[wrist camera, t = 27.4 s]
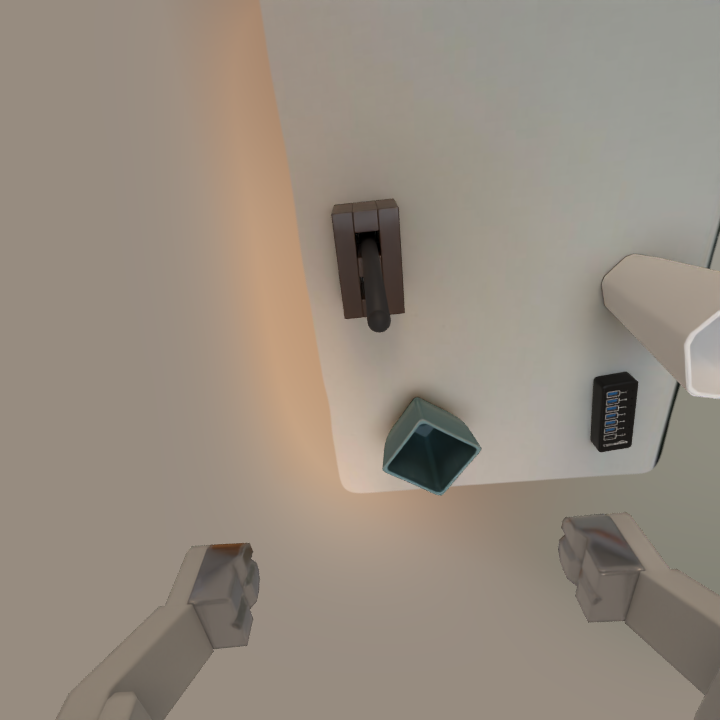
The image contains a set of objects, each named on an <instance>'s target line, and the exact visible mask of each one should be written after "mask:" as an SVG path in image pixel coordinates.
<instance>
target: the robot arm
mask: <svg viewBox="0 0 720 720" xmlns="http://www.w3.org/2000/svg"><path fill="white" fill-rule="evenodd" d="M561 528H562V530H563V532H564V534H565V535H564V536H563V537H562V538H561V539H560V540H559V548H558V550H559V557H560V562H561V565H562V568H563V571H564V573H565V575H566V577H567V579H569V580H570V581H571V582H572V583H573V584H575V585H576V586H577V590H576V595H575V596H576V598H577V600H578V602H579V604H580V606H581V609H582V611H583V613H584V615H585V617H586V619H587V621H588V622H610V621H625V624H626V625H628V626H629V627H630V628H631V629H632V630H633V631H634V632H635V633H636V634H638V635H639V636H640V637H641V638H642V639H643V640H644V641H645V642H646V643H648V644H649V645H650V646H651V647H652V648H653V649H654V650H655V651H656V652H657V653H659V654H660V655H661V656H662V657H663V658H664V659H665V660H666V661H667V662H669V663H670V664H671V665H672V666H673V667H674V668H675V669H676V670H677V671H679V672H680V673H681V674H682V675H683V676H684V677H685V678H686V679H688V680H689V681H690V682H691V683H692V684H693V685H694V686H695V687H696V688H697V689H698V690H700V691H701V692H702V693H703V694H704V695H705V696H704V699H703V700H702V702H701V704H700V706H699V708H698V710H697V712H696V714H695V717H694V720H720V596H719V595H718V594H716V593H714V592H713V591H711V590H710V589H708V588H707V587H705V586H703V585H702V584H700V583H699V582H697V581H695V580H694V579H692V578H691V577H689V576H687V575H686V574H684V573H683V572H681V571H679V570H678V569H670V568H669V567H668V565H667V564H666V562H665V561H664V560H663V558H662V557H661V556H660V555H659V553H658V552H657V550H656V549H655V547H654V546H653V545H652V544H651V542H650V541H649V540H648V538H647V537H646V535H645V534H644V532H643V531H642V530H641V528H640V527H639V526H638V524H637V523H636V522H635V520H634V519H633V518H632V516H631V515H630V514H628V513H627V512H623V513H612V514H594V515H584V516H573V517H565V518H564V520H563V521H562V527H561ZM252 553H253V551H252V548H251V545H250V543H237V544H218V545H204V546H203V545H202V546H192V547H191V548H190V549H189V550H188V552H187V553H186V556H185V558H184V561H183V563H182V565H181V568H180V570H179V573H178V575H177V577H176V580H175V582H174V585H173V587H172V590H171V592H170V595H169V597H168V599H167V602H166V605H165V606H160V607H158V608H157V609H156V610H155V611H154V612H153V613H152V614H151V615H150V616H149V617H148V618H147V619H146V620H145V621H144V622H143V623H142V624H141V625H139V627H137V628H136V629H135V630H134V631H133V632H132V633H131V634H130V635H129V636H128V637H127V638H126V639H125V640H124V641H123V642H122V643H121V644H120V645H119V646H118V647H117V648H116V649H115V650H113V651H112V652H111V653H110V654H109V655H108V656H107V657H106V658H105V659H104V660H103V661H102V662H101V663H100V664H99V665H98V666H97V667H96V668H95V669H94V670H93V671H92V672H91V673H90V674H88V675H87V676H86V677H85V678H84V679H83V680H82V681H81V682H80V683H79V684H78V685H77V686H76V687H75V688H74V689H73V690H72V691H71V692H70V693H69V694H68V696H67V698H66V700H65V702H64V704H63V706H62V708H61V710H60V712H59V714H58V716H57V717H56V719H55V720H164V719H165V717H166V716H167V715H168V713H169V712H170V711H171V709H172V708H173V707H174V705H175V704H176V702H177V701H178V700H179V698H180V697H181V695H182V694H183V693H184V691H185V690H186V689H187V687H188V686H189V685H190V683H191V682H192V680H193V679H194V678H195V676H196V675H197V674H198V672H199V671H200V670H201V668H202V667H203V665H204V664H205V663H206V661H207V660H208V658H209V657H210V656H211V654H212V653H213V652H214V651H213V649H219V648H229V647H240V646H247V644H248V639H249V635H250V631H251V626H252V621H253V617H252V614H251V611H250V609H251V607H252V606H253V605H254V604H255V603H256V602H257V598H258V593H259V581H260V577H259V569H258V566H257V563H256V562H254V561H253V560H252V559H251V557H252Z"/></svg>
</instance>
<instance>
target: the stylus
mask: <svg viewBox="0 0 720 720" xmlns="http://www.w3.org/2000/svg"><path fill="white" fill-rule="evenodd" d="M360 242H361V254H362V265H363V276H364V288H365V299H366V310H367V321H368V326H369V327H370V329H371V330H373V331H375V332H383V331H385V330H387V329H388V328H389V326H390V323H391V318H390V313H389V307H388V302H387V297H386V291H385V286H384V281H383V275H382V270H381V265H380V259H379V254H378V249H377V243H376V238H375V232H374V231H370V232H361V233H360Z"/></svg>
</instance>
